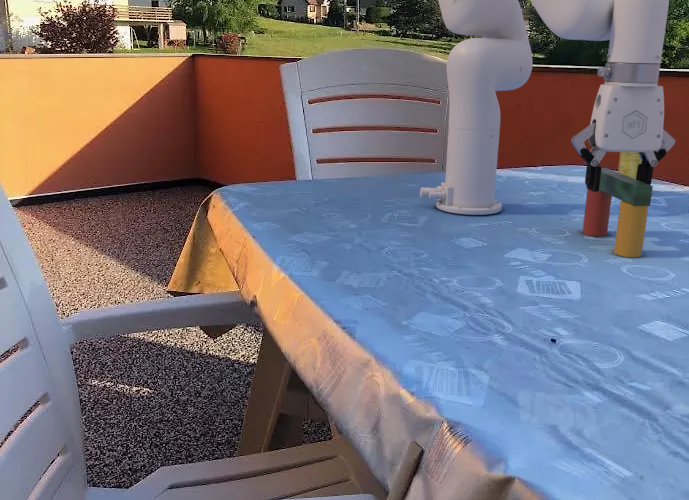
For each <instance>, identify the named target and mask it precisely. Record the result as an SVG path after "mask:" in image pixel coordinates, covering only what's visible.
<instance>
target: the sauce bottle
mask: <svg viewBox="0 0 689 500" xmlns="http://www.w3.org/2000/svg"><path fill="white" fill-rule="evenodd" d="M641 163H642V161H641V158H640V156H639V154H638V152H619V157H618V167H617V172H618V173H620V174H623V175H626V176H628V177H631V178H633V179H636V175H637V167H638V165H639V164H641Z"/></svg>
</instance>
